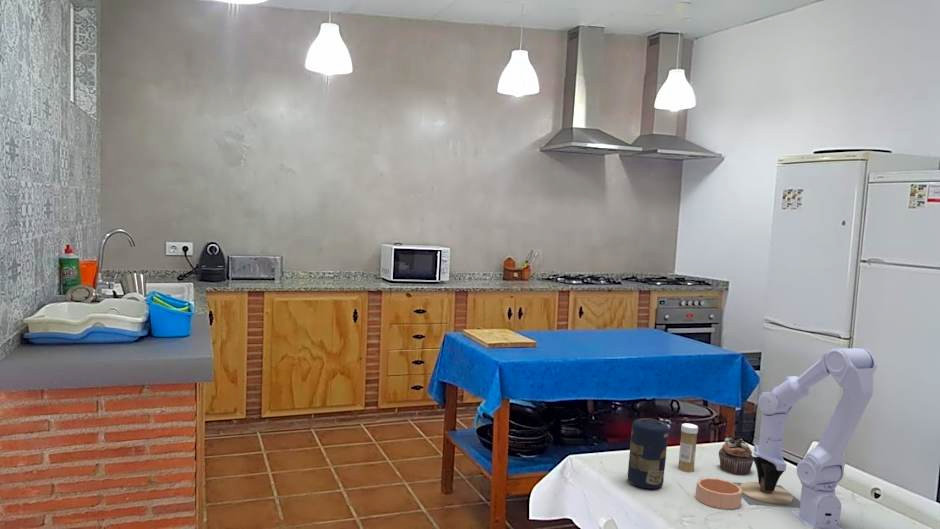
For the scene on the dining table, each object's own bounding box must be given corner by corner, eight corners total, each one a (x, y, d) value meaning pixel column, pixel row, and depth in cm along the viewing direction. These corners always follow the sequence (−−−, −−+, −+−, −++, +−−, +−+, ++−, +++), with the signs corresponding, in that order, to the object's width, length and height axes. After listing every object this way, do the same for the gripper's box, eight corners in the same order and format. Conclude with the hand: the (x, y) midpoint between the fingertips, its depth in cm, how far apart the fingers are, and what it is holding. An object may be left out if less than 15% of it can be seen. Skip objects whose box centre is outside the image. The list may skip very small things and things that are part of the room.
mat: (807, 510, 181) (807, 507, 181) (749, 506, 180) (749, 504, 180) (780, 487, 196) (780, 485, 196) (726, 484, 195) (726, 482, 195)
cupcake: (758, 479, 201) (761, 444, 201) (723, 476, 201) (727, 442, 201) (745, 467, 211) (748, 434, 210) (712, 464, 211) (715, 431, 210)
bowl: (747, 513, 177) (748, 495, 176) (704, 510, 176) (706, 493, 176) (730, 496, 187) (731, 479, 187) (690, 493, 187) (691, 477, 187)
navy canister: (633, 474, 198) (639, 411, 196) (667, 483, 193) (673, 418, 192) (622, 484, 189) (627, 418, 188) (657, 494, 185) (663, 426, 183)
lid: (802, 506, 182) (803, 489, 182) (751, 503, 181) (753, 486, 181) (778, 486, 195) (780, 471, 195) (731, 483, 194) (733, 468, 194)
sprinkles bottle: (697, 472, 203) (701, 426, 202) (686, 475, 200) (691, 428, 199) (684, 467, 207) (688, 421, 206) (673, 469, 204) (678, 423, 203)
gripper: (745, 428, 194) (740, 476, 195) (768, 445, 180) (763, 497, 181) (770, 429, 194) (765, 478, 195) (796, 447, 180) (790, 499, 181)
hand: (766, 487), depth 188 cm, fingers closed on lid, 3 cm apart
